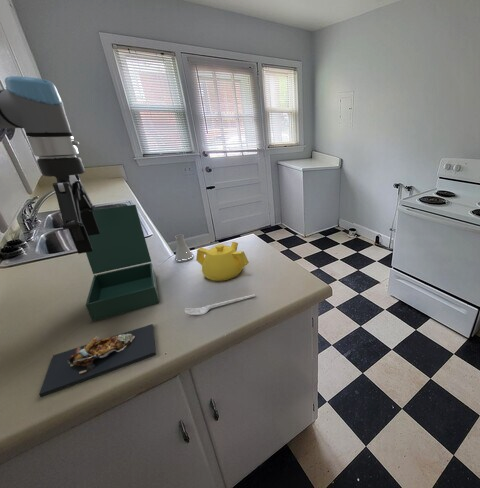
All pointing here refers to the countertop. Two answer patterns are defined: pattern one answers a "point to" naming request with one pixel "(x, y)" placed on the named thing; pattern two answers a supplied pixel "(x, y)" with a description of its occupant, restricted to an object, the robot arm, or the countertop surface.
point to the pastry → (98, 350)
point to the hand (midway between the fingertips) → (90, 242)
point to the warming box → (122, 291)
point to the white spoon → (205, 309)
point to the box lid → (117, 240)
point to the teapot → (221, 262)
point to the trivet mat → (98, 361)
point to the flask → (182, 249)
